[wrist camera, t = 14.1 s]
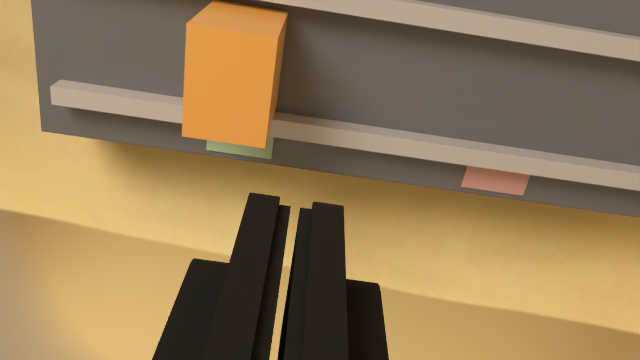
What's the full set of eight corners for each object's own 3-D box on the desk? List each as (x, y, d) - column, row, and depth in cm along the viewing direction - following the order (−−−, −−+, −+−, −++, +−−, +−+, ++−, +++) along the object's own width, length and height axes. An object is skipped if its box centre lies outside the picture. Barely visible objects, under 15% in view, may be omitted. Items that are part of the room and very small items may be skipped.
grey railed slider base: (715, -4, 26) (797, 16, 21) (630, 184, 30) (681, 232, 26) (67, -113, 24) (7, -116, 20) (77, 102, 29) (31, 139, 24)
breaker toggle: (288, 11, 22) (278, 37, 18) (276, 103, 24) (265, 148, 20) (214, -1, 22) (186, 23, 18) (208, 93, 24) (181, 136, 20)
